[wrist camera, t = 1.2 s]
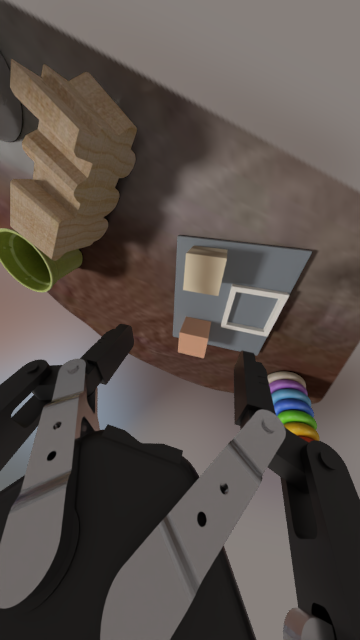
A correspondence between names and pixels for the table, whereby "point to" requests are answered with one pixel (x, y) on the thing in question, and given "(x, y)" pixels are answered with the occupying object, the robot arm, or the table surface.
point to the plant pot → (34, 262)
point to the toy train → (69, 160)
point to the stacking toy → (293, 404)
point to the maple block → (204, 269)
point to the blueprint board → (239, 291)
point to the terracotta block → (194, 337)
